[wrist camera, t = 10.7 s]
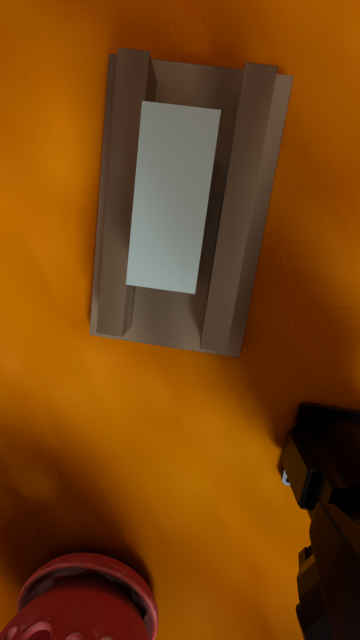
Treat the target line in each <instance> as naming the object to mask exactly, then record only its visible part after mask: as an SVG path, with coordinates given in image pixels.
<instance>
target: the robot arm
mask: <svg viewBox="0 0 360 640" xmlns="http://www.w3.org/2000/svg"><path fill="white" fill-rule="evenodd" d="M306 408H308V411H307V412H303V410H304V409H306ZM281 462H282V465H283V468H282V472H281V479H282V481H283V483H284V484H285V485H287V486H291V488H292V491H293V493H294V496H295V499H296V501H297V504H298V505H299V507H300V508H301V509H305V510H307V512H308V514H309V516H310V519H311V524H310V529H309V534H310V540H311V545H310V546H309V547H308V548H307V547H305V548H304V549H303V550H302V551H301V552H300V553H299V572H298V576H297V585H298V594H299V600H300V602H299V603H298V604H297V605H296V614H297V619H298V622H299V625H300V628H301V631H302V634H303V638H304V640H360V411H359V410H352V409H346V408H340V407H333V406H327V405H320V404H314V403H307V402H303V403H301V404H300V405H299V406H298V408H297V412H296V416H295V420H294V424H293V428H292V429H291V430H290V431H289V432H288V435H287V439H286V443H285V447H284V451H283V455H282V459H281ZM286 478H288V479H286Z"/></svg>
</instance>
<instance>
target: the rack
mask: <svg viewBox="0 0 360 640" xmlns="http://www.w3.org/2000/svg"><path fill="white" fill-rule="evenodd" d="M277 69H278V66H271V65H263V64H254V63H246V62H245V67H244V70H241V69H232V68H224V67H215V66H207V65H198V64H190V63H181V62H173V61H164V60H156V59H151V56H150V52H149V51H143V50H135V49H126V48H118V51H117V55H113V54H109V64H108V78H107V92H106V107H105V121H104V135H103V149H102V164H101V178H100V192H99V206H98V221H97V235H96V249H95V263H94V277H93V292H92V306H91V320H90V334H89V335H94V336H100V337H107V338H113V339H120V340H127V341H133V342H140V343H146V344H153V345H160V346H166V347H173V348H179V349H186V350H193V351H199V352H206V353H212V354H219V355H225V356H232V357H239V358H240V352H241V347H242V342H243V337H244V332H245V326H246V321H247V316H248V311H249V306H250V300H251V295H252V290H253V285H254V279H255V274H256V269H257V264H258V259H259V253H260V248H261V243H262V238H263V233H264V227H265V222H266V217H267V212H268V207H269V201H270V196H271V191H272V186H273V180H274V175H275V170H276V165H277V160H278V154H279V149H280V144H281V139H282V134H283V128H284V123H285V118H286V113H287V108H288V102H289V97H290V92H291V87H292V82H293V76H292V75H283V74H277ZM142 101H147V102H156V103H165V104H174V105H182V106H191V107H200V108H209V109H217V110H221V114H220V121H219V128H218V135H217V142H216V149H215V156H214V163H213V170H212V177H211V184H210V191H209V199H208V206H207V213H206V220H205V227H204V234H203V241H202V248H201V255H200V262H199V269H198V276H197V283H196V291H195V294H191V293H184V292H177V291H169V290H162V289H155V288H148V287H140V286H133V285H126V279H127V267H128V256H129V245H130V233H131V222H132V211H133V199H134V188H135V177H136V165H137V154H138V142H139V131H140V120H141V108H142Z"/></svg>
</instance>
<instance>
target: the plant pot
mask: <svg viewBox="0 0 360 640" xmlns="http://www.w3.org/2000/svg"><path fill="white" fill-rule="evenodd" d="M17 611H18V614H17V615H16V616H15V617H14V618H13V619H12V620H11V621H10V622H9V623H8V625H7V626H6V627H5V628H4V629H3V631H2V632H1V633H0V640H154V639H155V637H156V634H157V630H158V620H159V617H158V608H157V605H156V601H155V598H154V596H153V594H152V592H151V590H150V588H149V587H148V585H147V584H146V582H145V581H144V580H143V579H142V578H141V576H140V575H139V574H138V573H136V572H135V571H134V570H133V569H132V568H130V567H129V566H127V565H126V564H124V563H122V562H120V561H118V560H116V559H114V558H111V557H108V556H104V555H101V554H95V553H71V554H67V555H63V556H60V557H58V558H55V559H53V560H51V561H49V562H48V563H46V564H44V565H43V566H42V567H40V568H39V569H38V570H36V571H35V572H34V573H33V574H32V575H31V576H30V577H29V579H28V580H27V581H26V583H25V584H24V586H23V587H22V589H21V592H20V594H19V597H18V603H17Z"/></svg>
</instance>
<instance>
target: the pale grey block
mask: <svg viewBox="0 0 360 640" xmlns="http://www.w3.org/2000/svg"><path fill="white" fill-rule="evenodd" d="M220 114H221V110H217V109H209V108H200V107H191V106H182V105H174V104H165V103H156V102H147V101H142V108H141V120H140V131H139V142H138V154H137V165H136V177H135V188H134V199H133V211H132V222H131V233H130V245H129V256H128V267H127V279H126V285H133V286H140V287H148V288H155V289H162V290H169V291H177V292H184V293H191V294H195V291H196V283H197V276H198V269H199V262H200V255H201V248H202V241H203V234H204V227H205V220H206V213H207V206H208V199H209V191H210V184H211V177H212V170H213V163H214V156H215V149H216V142H217V135H218V128H219V121H220Z"/></svg>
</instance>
